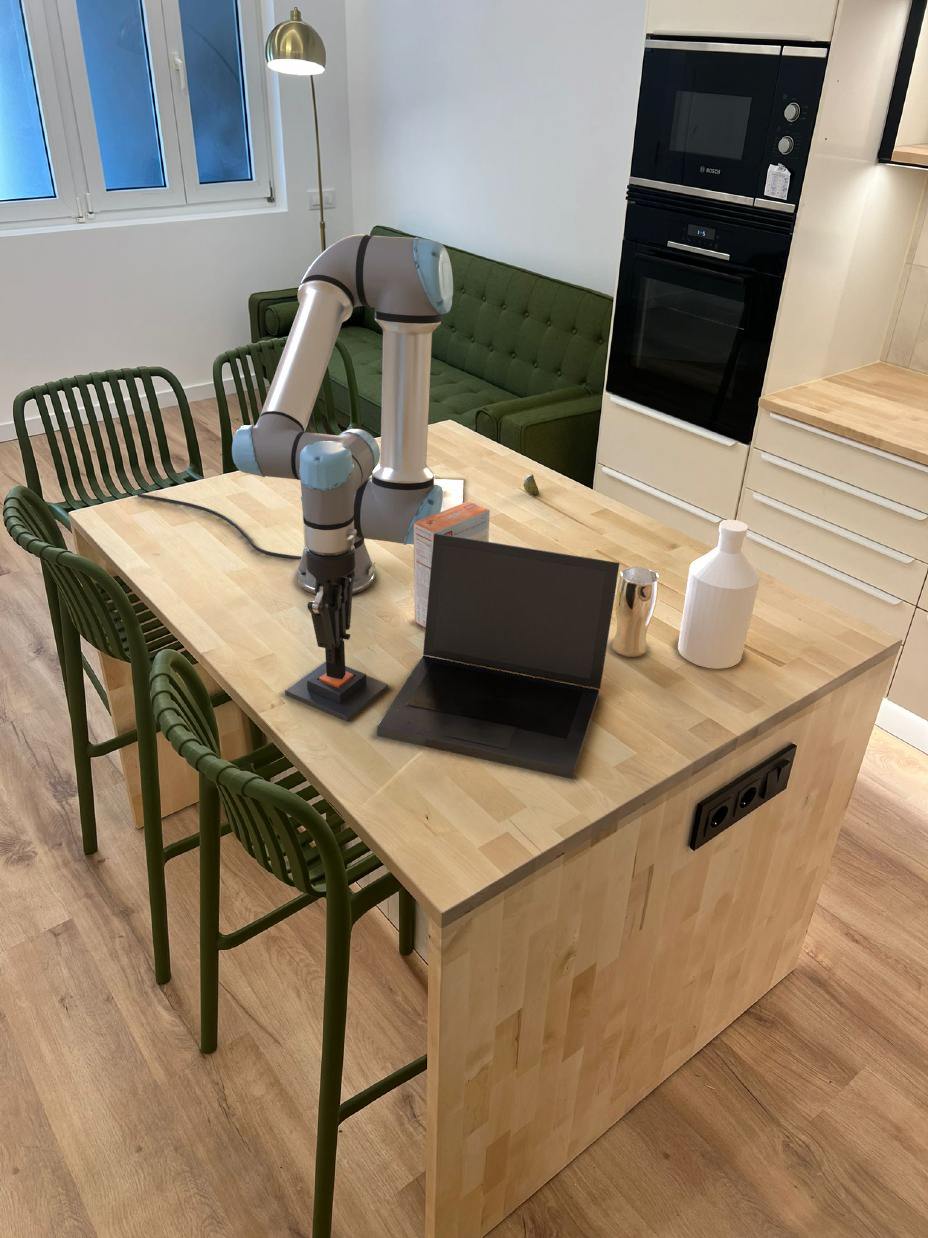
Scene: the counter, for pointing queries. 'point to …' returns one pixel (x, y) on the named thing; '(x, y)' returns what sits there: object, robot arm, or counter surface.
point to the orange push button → (337, 693)
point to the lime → (531, 485)
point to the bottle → (719, 602)
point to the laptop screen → (520, 609)
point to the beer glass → (634, 609)
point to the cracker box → (453, 522)
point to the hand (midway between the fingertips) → (336, 675)
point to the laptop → (492, 715)
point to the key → (336, 680)
